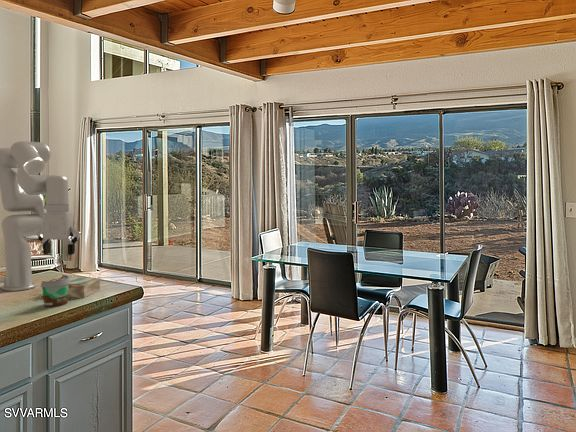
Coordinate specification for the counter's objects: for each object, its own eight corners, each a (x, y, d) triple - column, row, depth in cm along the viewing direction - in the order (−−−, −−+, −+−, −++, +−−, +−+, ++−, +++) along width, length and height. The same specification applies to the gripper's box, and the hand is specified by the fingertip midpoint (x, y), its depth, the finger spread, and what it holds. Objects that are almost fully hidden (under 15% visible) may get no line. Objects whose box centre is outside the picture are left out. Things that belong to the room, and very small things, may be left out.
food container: (56, 309, 169) (55, 282, 168) (41, 308, 171) (40, 281, 170) (77, 300, 181) (77, 275, 181) (64, 299, 183) (63, 274, 182)
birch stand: (46, 296, 187) (46, 283, 186) (64, 289, 199) (64, 276, 199) (84, 298, 185) (83, 284, 185) (99, 290, 197) (99, 278, 197)
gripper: (29, 209, 170) (31, 255, 171) (73, 209, 168) (75, 256, 170) (42, 207, 177) (43, 252, 179) (85, 208, 176) (86, 253, 177)
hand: (59, 254), depth 174 cm, fingers open, 9 cm apart
